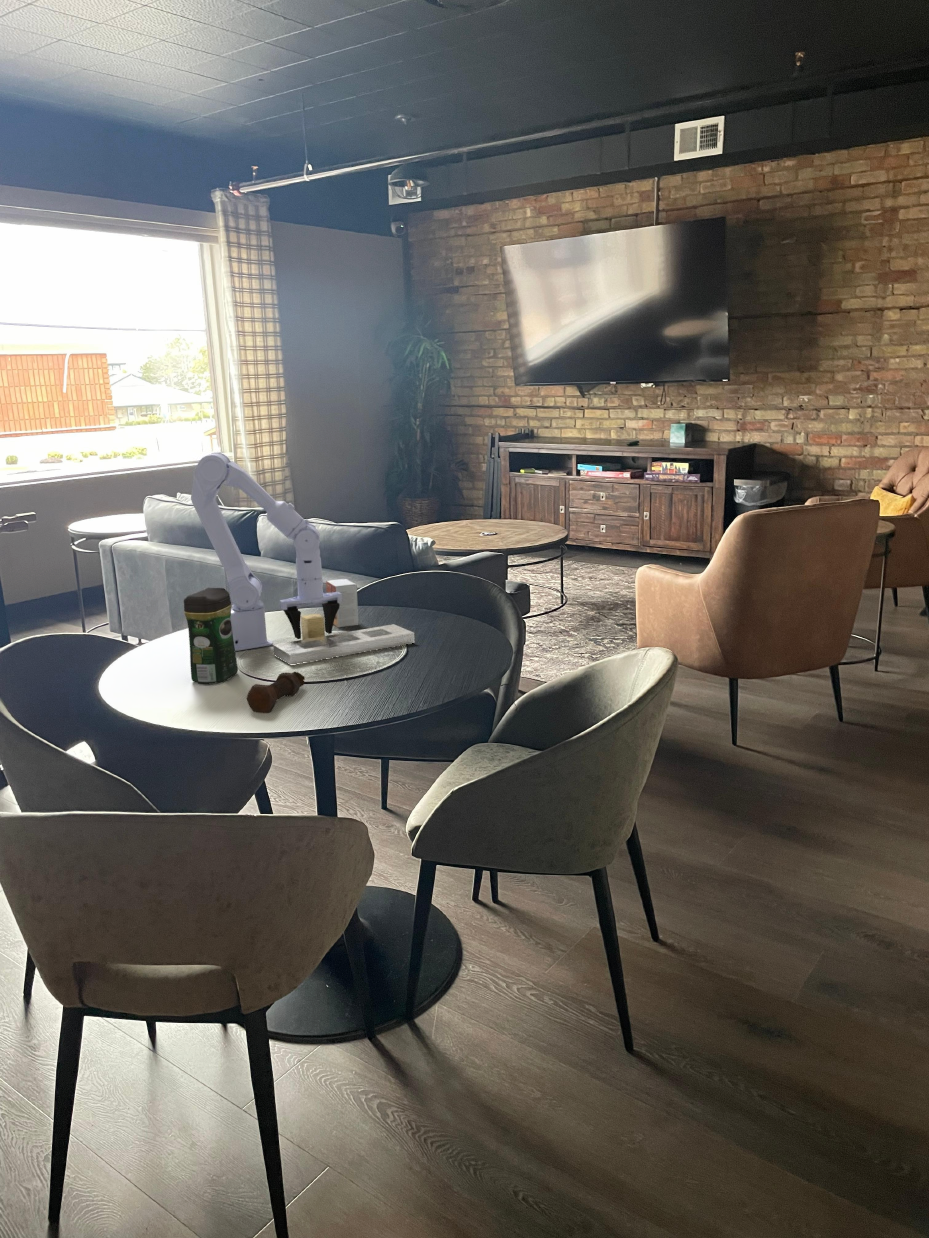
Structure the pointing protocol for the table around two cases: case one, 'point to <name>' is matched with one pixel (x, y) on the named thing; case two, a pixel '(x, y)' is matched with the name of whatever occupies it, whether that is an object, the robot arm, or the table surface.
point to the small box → (345, 602)
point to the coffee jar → (210, 636)
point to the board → (343, 644)
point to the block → (312, 626)
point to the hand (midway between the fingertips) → (313, 635)
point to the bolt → (274, 692)
